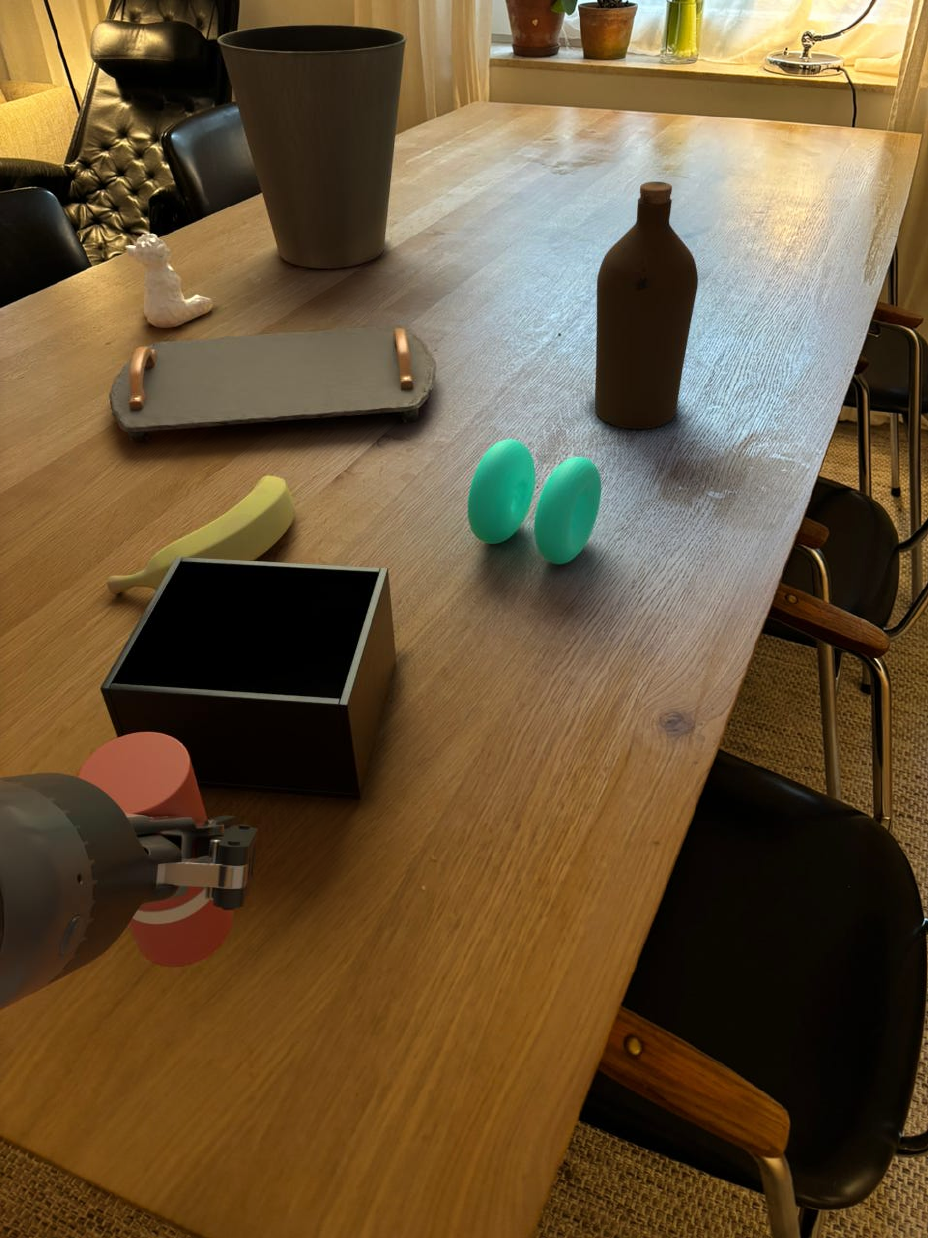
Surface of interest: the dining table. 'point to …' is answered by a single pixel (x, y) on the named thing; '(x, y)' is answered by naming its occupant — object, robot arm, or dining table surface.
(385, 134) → the waste basket
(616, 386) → the olive oil
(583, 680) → the dining table surface
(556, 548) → the green wheel pair
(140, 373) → the serving tray
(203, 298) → the white creature statuette
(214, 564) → the bin
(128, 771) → the striped red cylinder
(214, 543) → the banana
